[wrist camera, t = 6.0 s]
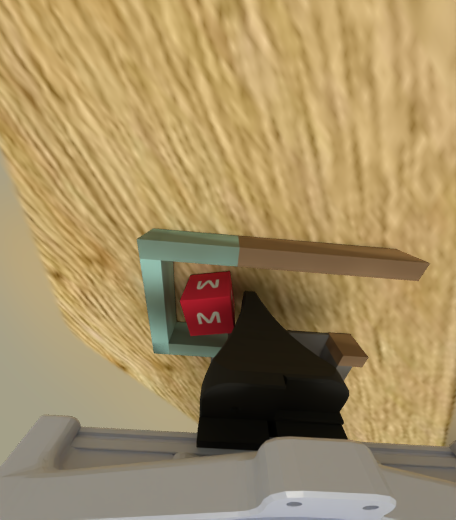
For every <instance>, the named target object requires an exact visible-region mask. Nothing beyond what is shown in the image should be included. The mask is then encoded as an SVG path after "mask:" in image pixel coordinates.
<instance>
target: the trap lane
mask: <svg viewBox="0 0 456 520" xmlns="http://www.w3.org/2000/svg"><path fill="white" fill-rule="evenodd" d="M137 243H138V250H139V257H140V263H141V270H142V277H143V283H144V290H145V297H146V304H147V310H148V317H149V324H150V330H151V337H152V344H153V350H154V353H157V354H172V355H187V356H202V357H211V362H212V359H213V358H214V357H215V355H216V354H217V353H218V352H219V350H220V349H221V348H222V346H223V345H224V343H225V342H226V340H227V339H228V337H229V336H230V334H231V333H226V334H212V335H199V336H190V332H189V329H188V326H187V323H186V322H177V320H176V303H175V286H174V269H173V261H175V262H187V263H200V264H212V265H225V266H237V267H250V268H262V269H275V270H287V271H300V272H312V273H325V274H337V275H350V276H362V277H374V278H387V279H399V280H412V281H419V279H420V278H421V276H422V275H423V273H424V272H425V270H426V269H427V267H428V266H429V264H430V263H428V262H426V261H423V260H421V259H419V258H416V257H414V256H411V255H409V254H407V253H404V252H402V251H399V250H397V249H388V248H376V247H364V246H352V245H341V244H329V243H317V242H305V241H293V240H282V239H270V238H258V237H246V236H234V235H222V234H211V233H199V232H187V231H175V230H163V229H152V230H150V231H149V232H147V233H145V234H144V235H142V236H141V237H139V238H138V239H137ZM287 332H288V333H289V334H290V335H291V336H293V337H294V338H295V339H296V340H297V341H299V342H300V343H301V344H302V345H304V346H305V347H306V348H308V349H309V350H310V351H312V352H313V353H314V354H316V355H317V356H319V357H320V358H322V359H324V360H325V361H327V362H328V363H330V364H331V365H333V366H334V367H335V368H336V369H337V371H338V372H339V374H340V375H341V377H342V379H343V381H344V379H345V378H346V376H347V374H348V373H349V371H350V370H351V368H352V367H363V365H364V363H365V362H366V360H367V359H368V356H367V355H366V354H365V352H364V351H363V350H362V348H361V347H360V346H359V345H358V343H357V342H356V341H355V339H354V338H353V337H352V336H351V334H339V333H314V332H300V331H287Z"/></svg>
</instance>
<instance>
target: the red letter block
mask: <svg viewBox="0 0 456 520" xmlns="http://www.w3.org/2000/svg"><path fill="white" fill-rule="evenodd" d="M180 303H181V307H182V310H183V313H184V316H185V320H186V323H187V326H188V329H189V332H190V336H199V335H212V334H226V333H231V332H232V330H233V328H234V326H235V310H234V297H233V290H232V282H231V275H230V271H228V272H218V273H208V274H198V275H190V278H189V280H188V283H187V285H186V287H185V290H184V292H183V294H182V297H181V299H180Z"/></svg>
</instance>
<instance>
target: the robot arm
mask: <svg viewBox="0 0 456 520" xmlns="http://www.w3.org/2000/svg"><path fill="white" fill-rule="evenodd" d="M348 397H349V390H348V388H347V386H346V385H345V383H344V381H343V379H342V377H341V375H340V374H339V372H338V371H337V369H336V368H335V367H334V366H333V365H331V364H330V363H328V362H327V361H325V360H324V359H322V358H320V357H319V356H317V355H316V354H314V353H313V352H312V351H310V350H309V349H308V348H306V347H305V346H304V345H302V344H301V343H300V342H299V341H297V340H296V339H295V338H294V337H293V336H291V335H290V334H289V333H288V332H287V331H286V330H285V329H284V328H283V327H282V326H281V325H280V324H279V323H278V322H277V321H276V320H275V318H274V317H273V316H272V315H271V314H270V312H269V311H268V310H267V308H266V307H265V306H264V304H263V303H262V301H261V300H260V299H259V297H258V296H257V294H256V293H255V292H253V291H245V292H243V299H242V306H241V312H240V315H239V318H238V320H237V322H236V324H235V326H234V328H233V330H232V332H231V334H230V336H229V337H228V339H227V340H226V342H225V343H224V345H223V346H222V348H221V349H220V350H219V352H218V353H217V354H216V355H215V357H214V358H213V359H212V362H211V364H210V366H209V368H208V370H207V373H206V375H205V378H204V380H203V384H202V388H201V396H200V417H199V425H198V432H197V433H187V432H168V431H150V430H131V429H114V428H95V427H81V426H80V422H79V421H78V420H77V419H76V418H74V417H72V416H62V415H42V416H41V417H40V418H39V419H38V420H37V421H36V423H35V424H34V425H33V427H32V428H31V429H30V430H29V432H28V433H27V434H26V435H25V437H24V438H23V439H22V440H21V441H20V443H19V444H18V445H17V446H16V448H15V449H14V450H13V451H12V453H11V454H10V455H9V456H8V458H7V459H6V460H5V462H4V463H3V464H2V465H1V466H0V520H456V441H454V442H452V443H451V444H450V445H449V447H443V446H425V445H407V444H388V443H370V442H358V441H353V440H348V438H347V436H346V434H345V431H344V429H343V427H342V425H343V424H344V421H343V419H342V417H341V414H340V410H341V409H342V407H343V406H344V404H345V403H346V401H347V399H348Z"/></svg>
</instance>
